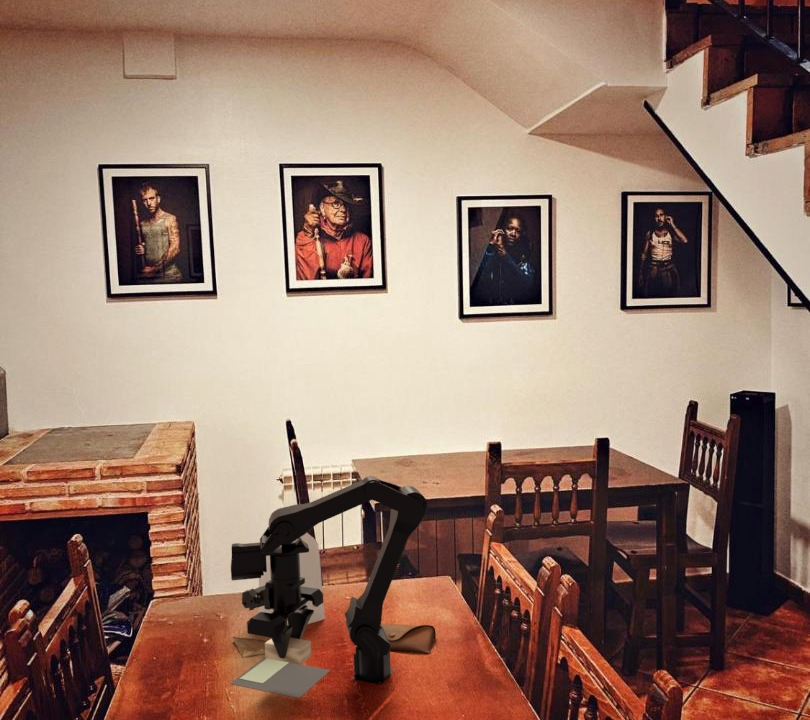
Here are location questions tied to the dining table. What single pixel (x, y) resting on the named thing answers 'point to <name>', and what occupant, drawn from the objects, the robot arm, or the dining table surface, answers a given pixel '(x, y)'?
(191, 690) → the dining table surface
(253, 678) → the mat
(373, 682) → the robot arm
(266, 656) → the birch block
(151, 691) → the dining table surface
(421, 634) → the sunglasses case
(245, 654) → the shard
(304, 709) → the dining table surface
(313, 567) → the milk
